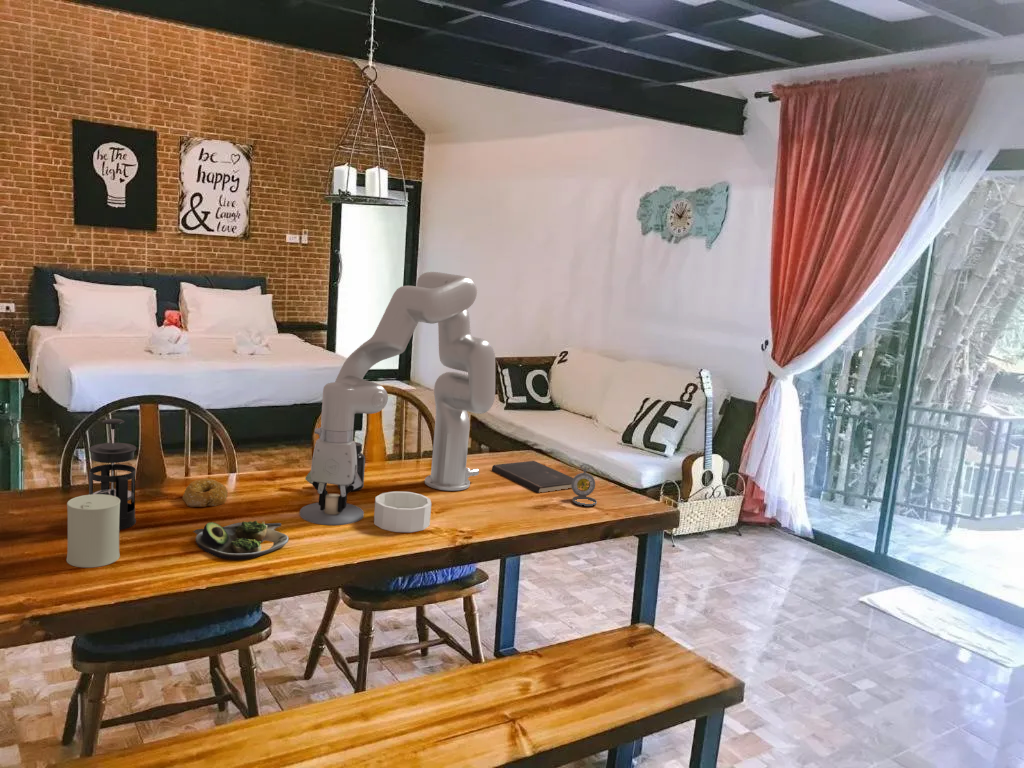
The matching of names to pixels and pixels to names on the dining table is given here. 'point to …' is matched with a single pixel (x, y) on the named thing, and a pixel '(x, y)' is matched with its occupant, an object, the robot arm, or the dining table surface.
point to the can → (93, 530)
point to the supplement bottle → (359, 465)
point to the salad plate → (239, 539)
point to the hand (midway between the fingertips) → (332, 508)
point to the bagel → (205, 493)
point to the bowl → (402, 511)
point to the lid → (331, 512)
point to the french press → (115, 455)
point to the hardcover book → (534, 476)
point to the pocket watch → (583, 487)
